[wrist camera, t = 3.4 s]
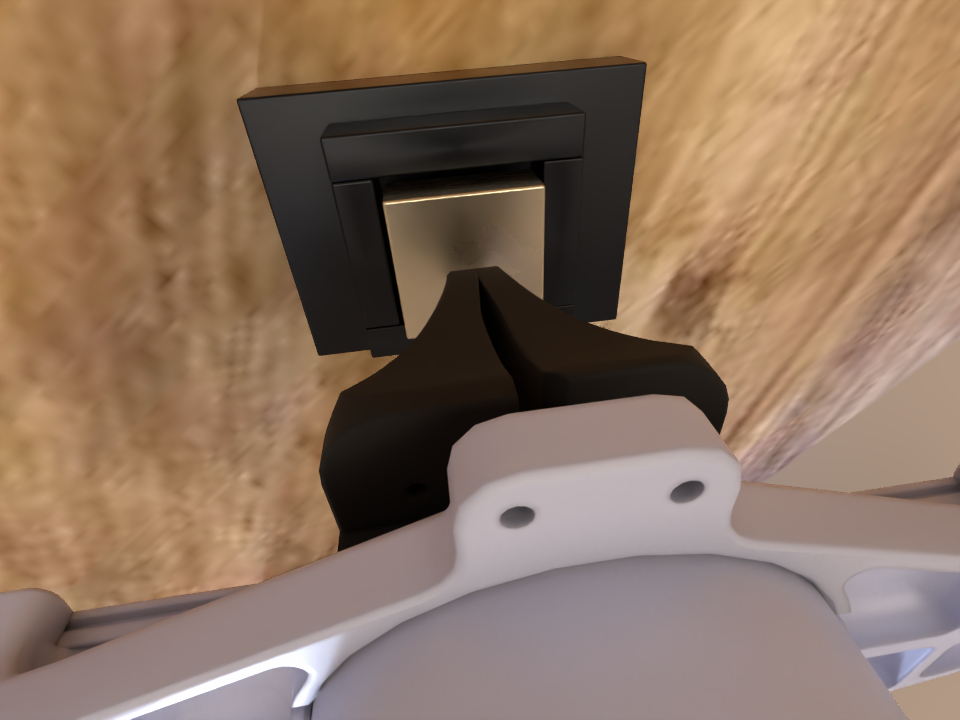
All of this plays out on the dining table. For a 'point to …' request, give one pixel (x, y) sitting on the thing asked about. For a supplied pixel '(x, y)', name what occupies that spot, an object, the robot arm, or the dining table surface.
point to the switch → (463, 234)
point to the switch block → (445, 153)
